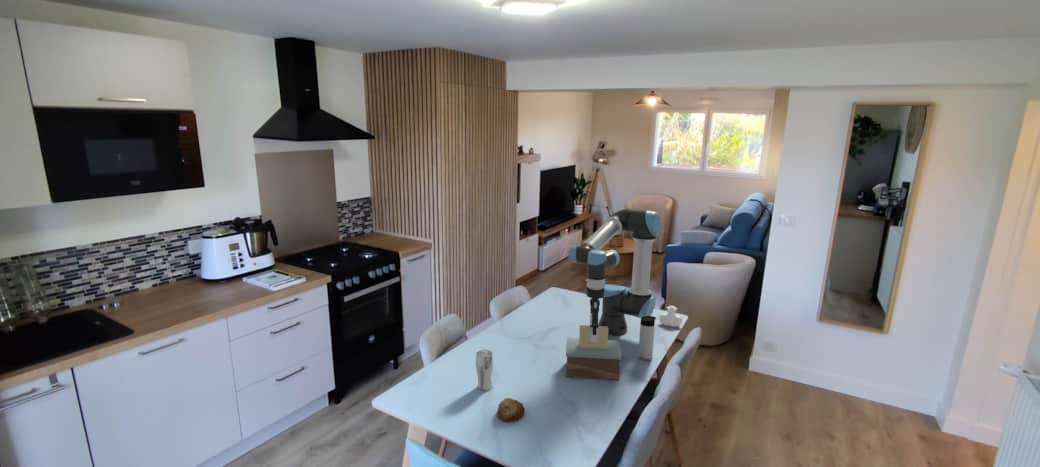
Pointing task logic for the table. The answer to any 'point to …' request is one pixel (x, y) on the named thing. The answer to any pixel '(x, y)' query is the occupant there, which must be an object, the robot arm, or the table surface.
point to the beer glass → (484, 369)
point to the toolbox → (593, 368)
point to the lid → (593, 345)
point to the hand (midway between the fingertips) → (593, 334)
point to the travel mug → (646, 337)
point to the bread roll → (510, 410)
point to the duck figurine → (670, 318)
